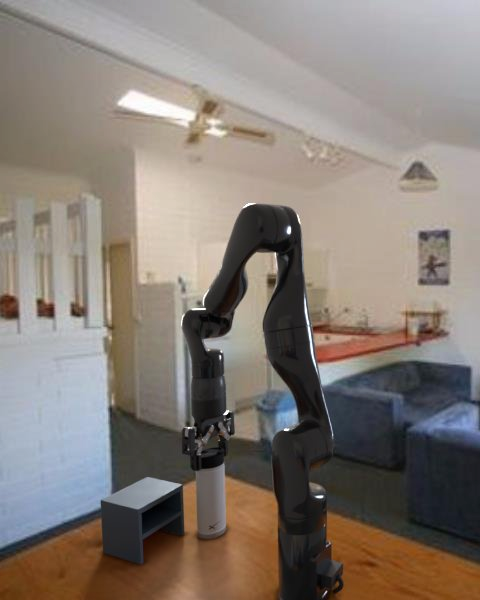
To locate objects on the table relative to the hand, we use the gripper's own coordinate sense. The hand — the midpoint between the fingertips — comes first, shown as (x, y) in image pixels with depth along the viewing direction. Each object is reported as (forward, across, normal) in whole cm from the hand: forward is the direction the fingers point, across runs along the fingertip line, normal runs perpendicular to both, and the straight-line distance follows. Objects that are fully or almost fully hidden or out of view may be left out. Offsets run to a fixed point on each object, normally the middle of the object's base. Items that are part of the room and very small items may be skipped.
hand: (210, 462), depth 111 cm
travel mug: (+17, 0, 0) cm, 17 cm away
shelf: (+17, -9, +11) cm, 22 cm away
